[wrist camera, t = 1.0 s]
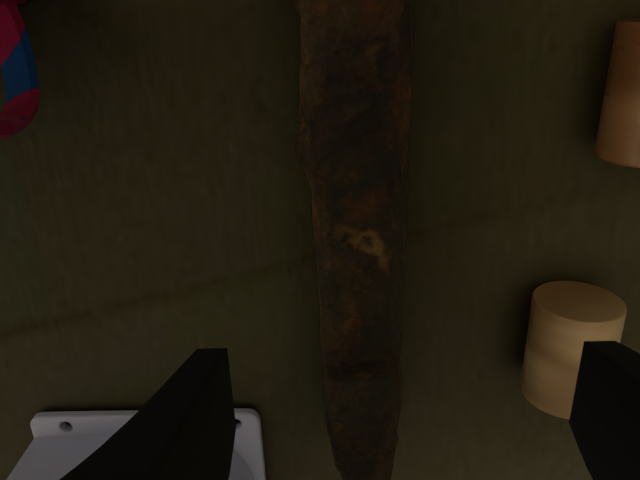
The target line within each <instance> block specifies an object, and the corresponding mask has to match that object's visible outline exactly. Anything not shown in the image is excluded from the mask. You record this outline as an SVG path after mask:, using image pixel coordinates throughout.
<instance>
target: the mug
mask: <svg viewBox="0 0 640 480" xmlns="http://www.w3.org/2000/svg"><path fill="white" fill-rule="evenodd" d="M26 1H28V0H0V64H1V67H2V72H3V77H4V83H5V91H6V99H5V104H4V109H3V111H2V113H1V114H0V141H2V140H4V139H6V138H8V137H11V136H12V135H14V134H16V133H17V132H19V131H21V130H23V129H24V128H25V127H26V126H27V125H28V124H29V123H30V122H31V121H32V120H33V118H34V116H35V114H36V113H37V111H38V105H39V83H38V74H37V69H36V64H35V59H34V55H33V52H32V48H31V45H30V41H29V38H28V35H27V31H26V28H25V25H24V22H23V19H22V16H21V14H20V12H19V10H18V8H17V6H19V5H21V4H22V3H24V2H26Z"/></svg>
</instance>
